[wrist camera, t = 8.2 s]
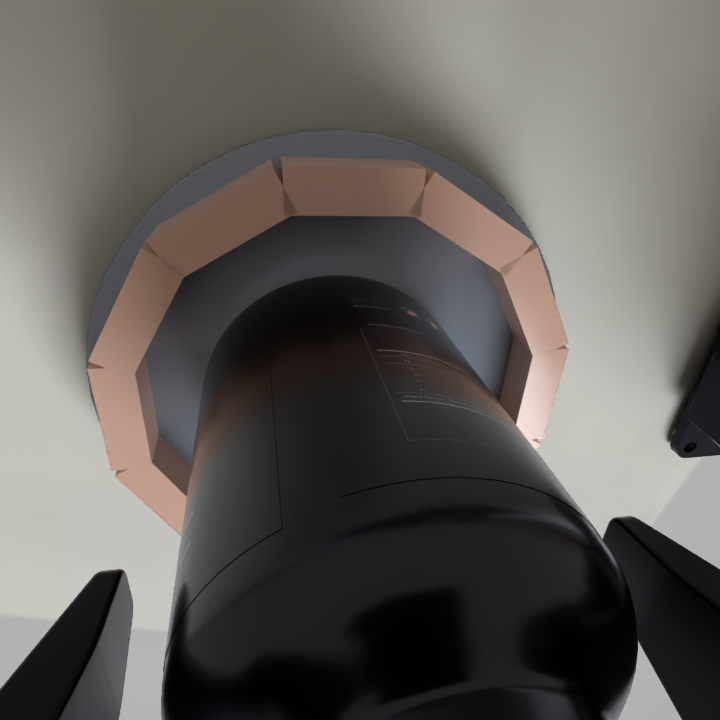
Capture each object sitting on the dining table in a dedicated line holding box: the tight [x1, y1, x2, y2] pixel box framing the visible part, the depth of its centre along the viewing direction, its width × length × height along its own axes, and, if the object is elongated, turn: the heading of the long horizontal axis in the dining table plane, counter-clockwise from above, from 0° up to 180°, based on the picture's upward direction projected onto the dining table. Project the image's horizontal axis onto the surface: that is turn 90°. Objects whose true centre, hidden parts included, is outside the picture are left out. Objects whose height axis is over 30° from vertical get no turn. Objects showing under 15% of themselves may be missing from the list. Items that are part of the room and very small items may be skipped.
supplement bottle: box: [161, 275, 638, 720], centre depth 9 cm, size 7×7×12 cm
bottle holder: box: [87, 129, 568, 536], centre depth 15 cm, size 13×13×2 cm
